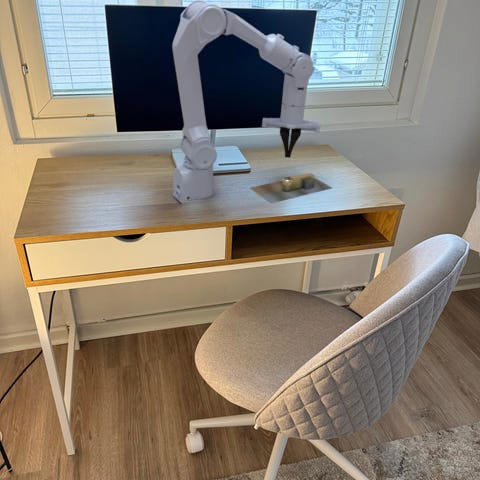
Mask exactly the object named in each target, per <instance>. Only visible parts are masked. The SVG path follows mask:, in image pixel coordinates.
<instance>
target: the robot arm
mask: <svg viewBox="0 0 480 480" xmlns="http://www.w3.org/2000/svg"><path fill="white" fill-rule="evenodd" d="M221 35H224V36H229V35H234V36H235V37H238V38H239V39H241V40H242V41H244V42H246V43H248V44H249V45H251V46H253V47H254V48H256V49H258V54H259V57H260V58H261V59H263V60H264V61H266V62H268V63H269V64H271V65H272V66H274V67H276V68H277V69H279V71H282V73H283V74H284V81H283V87H282V100H281V110H280V111H281V112H280V117H274V118H273V117H269V118H268V117H263V118H262V123H261V128H264V129H265V128H273V129H274V128H275V129H279V135H280V138H281V141H282V143H283V148H284V158H289V159H291V155H292V153H293V150H294V147H295V145H296V144H297V141H298V139H299V138H300V136H301V135H302V131H307V132H315V133H318V134H319V133H320V131H321V123H320V122H314V121H308V120H304V115H305V108H306V99H307V92H308V85H309V80H310V78H311V77H312V75H313V74H314V72H315V68H316V67H315V65H314V61H313V59H312V57H311V56H310V55H309V54H307V53H304V52H300V47H299V46H297V45H294V44H293V45H292V44H290V43H288V42H287V41H285V40H284V39H285V37H284V35H282V34H279V33H277V34H275V33H270V34H268V35H265V34H264V33H262V32H261V31H260V30H258V29H257V28H255V27H254V26H253V25H251V24H250V23H248V22H247V21H246V20H244V19H243V18H242V17H240V16H238V15H237V14H235V13H234V12H231V11H229V10H227V9H224V8H221V7H220V6H219V5H217V4H214V3H207V2H205V1H203V0H195V1H193V2H191V3H189V4H188V5H187V7H185V9H184V10H183V11H182V13H180V21H179V24H178V26H177V30H176V33H175V35H174V38H173V41H172V54H173V62H174V67H175V74H176V81H177V86H178V88H177V89H178V93H179V100H180V106H181V112H182V119H183V127H182V139H181V141H180V149H181V151H182V152H183V154H184V155H185V157H184V158H183V163H182V164H181V165H180V166H177V167H175V168H174V169H173V173H172V178H173V179H172V183H173V188H172V189H173V193H172V196H173V197H174V198H175V199H176V200H177V201H179V203H181V204H184V202H188V201H192V200H201V199H207V198H209V197H212V195H213V194H214V192H213V191H214V164H215V162H216V160H217V157H218V153H217V149H216V148H215V146H214V145H213V143H212V138H211V135H210V132H209V129H208V126H207V121H206V120H207V119H206V114H205V105H204V98H203V97H204V95H203V89H202V81H201V73H200V65H199V57H198V54H200V53H201V51H202V50H203V49H204V47H205V46H207V44H209V43H210V42H212V41H214V40H216V39H217V38H219V36H221Z"/></svg>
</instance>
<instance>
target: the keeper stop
mask: <svg viewBox="0 0 480 480" xmlns="http://www.w3.org/2000/svg"><path fill="white" fill-rule="evenodd" d="M314 178H315V177H314ZM314 178H310V179H306V180H304V183H303V189H305V190H307V189H311V188H314V185H315V179H314Z"/></svg>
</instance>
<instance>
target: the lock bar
mask: <svg viewBox="0 0 480 480" xmlns="http://www.w3.org/2000/svg"><path fill="white" fill-rule="evenodd" d="M310 178H315V174H313V173H311V172H308V173H304V174H300V175H294V176H284V177H282V180H281V181H282V190H284V191H291V190H292V189H296V188H301V187H303V183H304V180H306V179H310Z"/></svg>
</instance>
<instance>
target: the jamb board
mask: <svg viewBox="0 0 480 480" xmlns="http://www.w3.org/2000/svg"><path fill="white" fill-rule="evenodd" d="M314 179H315V185H314V188H311V189H307V190H305V189H303V187H301V188H296V189H292V190H291V191H284V190H282V181H283V180H279V181H274V182H271V183H270V182H269V183H265V184H261V185H256V186H252V187H249V189H250V190H251V191H253V192H254V193H255V194H256V195H259V196H260V197H262V199H265V200H266V201H267V202H269V203H270V204H275V203H278V202H282V201H286V200H290V199H295V198H299V197H302V196H308V195H310V194H314V193H315V194H316V193H319V192H322V191H326V190H331V189H333V187H332V186H331V185H328V184H327V183H324V182H323V181H322V180H319V179H318V178H316V177H314Z"/></svg>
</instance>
